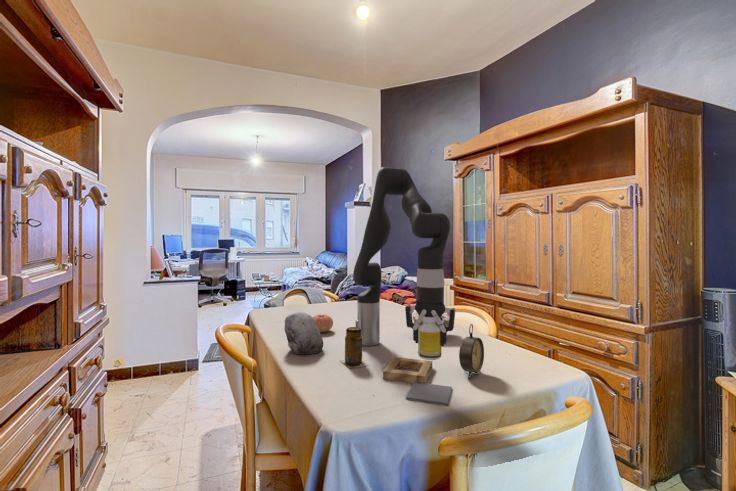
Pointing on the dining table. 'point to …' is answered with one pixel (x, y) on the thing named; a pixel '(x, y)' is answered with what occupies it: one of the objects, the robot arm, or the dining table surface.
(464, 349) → the alarm clock
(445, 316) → the mortar
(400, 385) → the dining table surface
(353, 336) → the condiment
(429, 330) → the pill bottle
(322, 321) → the tomato
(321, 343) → the stone
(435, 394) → the slate coaster
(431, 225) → the robot arm
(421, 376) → the wooden square frame
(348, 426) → the dining table surface
